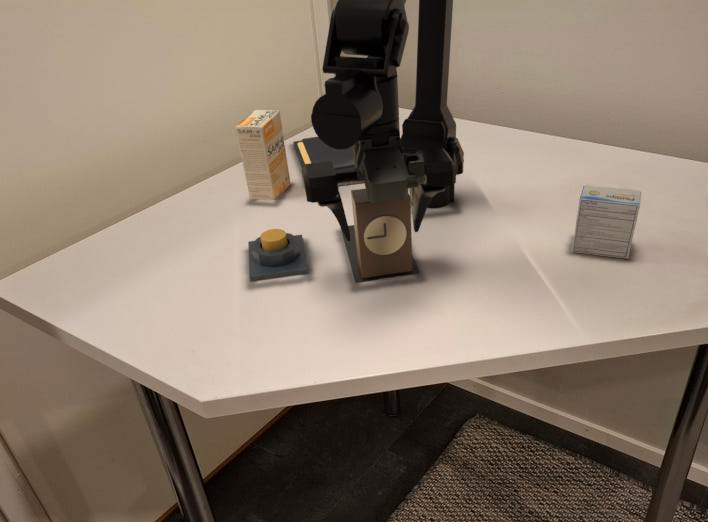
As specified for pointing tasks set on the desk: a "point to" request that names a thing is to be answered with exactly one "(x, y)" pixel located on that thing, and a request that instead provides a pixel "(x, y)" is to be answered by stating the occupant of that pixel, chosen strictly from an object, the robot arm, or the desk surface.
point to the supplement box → (263, 154)
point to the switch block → (277, 259)
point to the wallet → (323, 153)
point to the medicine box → (606, 221)
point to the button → (274, 240)
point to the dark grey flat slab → (355, 267)
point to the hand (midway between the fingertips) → (382, 235)
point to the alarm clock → (382, 235)
